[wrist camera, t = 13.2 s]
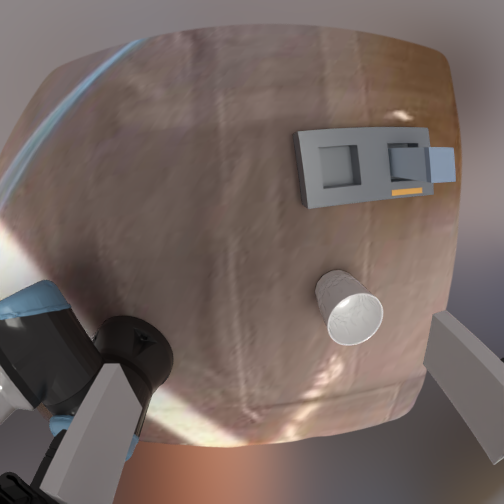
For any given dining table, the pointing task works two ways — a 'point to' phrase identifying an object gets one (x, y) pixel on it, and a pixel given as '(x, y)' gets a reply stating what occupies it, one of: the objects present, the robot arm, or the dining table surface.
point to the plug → (423, 164)
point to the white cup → (347, 308)
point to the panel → (355, 164)
